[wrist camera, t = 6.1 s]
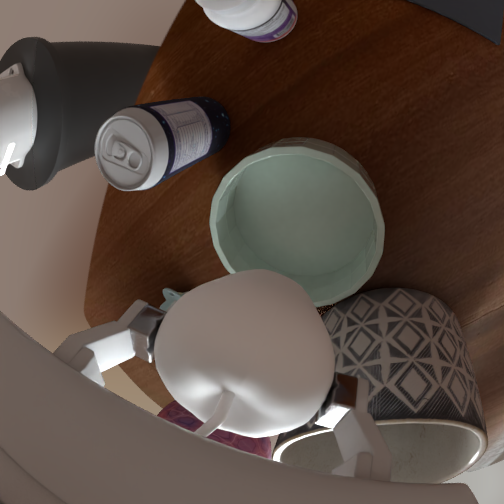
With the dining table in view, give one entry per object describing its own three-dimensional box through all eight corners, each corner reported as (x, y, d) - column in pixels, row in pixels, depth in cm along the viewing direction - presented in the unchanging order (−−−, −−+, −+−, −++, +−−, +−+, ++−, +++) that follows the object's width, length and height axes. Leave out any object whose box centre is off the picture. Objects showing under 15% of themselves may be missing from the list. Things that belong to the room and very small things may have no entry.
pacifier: (213, 296, 37) (170, 274, 37) (192, 331, 32) (144, 306, 32) (200, 330, 41) (162, 311, 41) (181, 363, 36) (140, 341, 36)
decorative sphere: (308, 418, 45) (278, 524, 28) (239, 436, 56) (205, 514, 39) (215, 352, 42) (152, 470, 26) (162, 385, 53) (112, 465, 37)
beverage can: (193, 86, 25) (102, 95, 15) (244, 113, 25) (172, 132, 15) (171, 137, 28) (83, 172, 18) (218, 164, 28) (143, 213, 18)
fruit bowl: (222, 252, 33) (202, 277, 29) (244, 120, 25) (222, 126, 21) (348, 293, 31) (345, 326, 27) (401, 167, 23) (411, 183, 19)
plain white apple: (220, 211, 13) (97, 347, 6) (370, 283, 12) (364, 463, 6) (188, 316, 17) (112, 430, 10) (301, 369, 16) (264, 498, 10)
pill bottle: (232, -3, 19) (176, -37, 11) (292, -14, 17) (261, -62, 9) (241, 48, 22) (186, 31, 14) (303, 39, 20) (276, 10, 12)
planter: (482, 281, 25) (531, 411, 11) (430, 390, 34) (432, 494, 21) (310, 265, 30) (269, 405, 17) (302, 380, 40) (272, 485, 26)
